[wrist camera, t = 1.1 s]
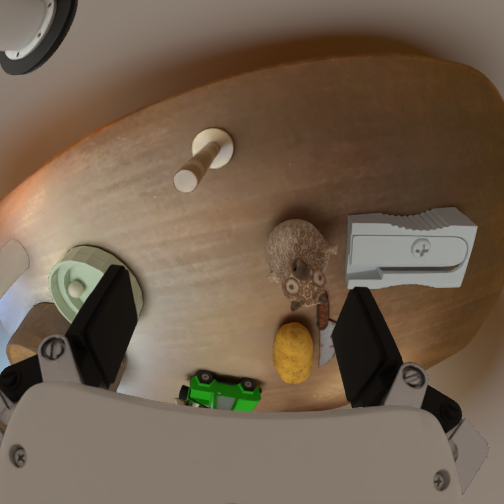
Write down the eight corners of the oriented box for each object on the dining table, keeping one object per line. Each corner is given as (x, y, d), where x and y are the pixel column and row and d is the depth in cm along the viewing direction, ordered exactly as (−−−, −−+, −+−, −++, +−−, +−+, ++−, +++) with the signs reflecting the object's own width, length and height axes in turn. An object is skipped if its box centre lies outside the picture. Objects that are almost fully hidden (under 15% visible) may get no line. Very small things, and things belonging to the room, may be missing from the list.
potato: (273, 363, 52) (275, 391, 46) (268, 313, 45) (270, 345, 39) (308, 359, 52) (313, 387, 45) (311, 309, 44) (318, 340, 38)
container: (137, 343, 49) (113, 405, 36) (116, 388, 62) (100, 432, 49) (30, 276, 42) (-9, 323, 29) (35, 339, 55) (12, 377, 42)
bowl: (53, 283, 42) (40, 298, 38) (80, 224, 36) (64, 239, 32) (119, 334, 48) (111, 352, 44) (162, 290, 42) (153, 311, 38)
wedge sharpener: (442, 263, 40) (462, 286, 34) (343, 279, 41) (356, 309, 35) (454, 207, 34) (480, 226, 28) (346, 215, 35) (364, 239, 29)
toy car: (252, 395, 59) (252, 431, 51) (181, 383, 57) (174, 419, 48) (262, 378, 55) (263, 418, 46) (184, 364, 53) (176, 404, 44)
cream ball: (71, 283, 41) (63, 293, 39) (75, 274, 40) (67, 284, 38) (83, 293, 42) (76, 304, 40) (88, 285, 41) (80, 295, 39)
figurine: (315, 193, 34) (352, 253, 21) (334, 252, 39) (367, 326, 26) (250, 217, 36) (249, 290, 23) (276, 273, 40) (286, 353, 27)
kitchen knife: (339, 364, 52) (317, 370, 52) (337, 358, 53) (315, 364, 53) (348, 291, 41) (319, 299, 40) (344, 285, 42) (315, 292, 42)
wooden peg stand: (185, 148, 31) (139, 184, 18) (212, 119, 29) (182, 131, 16) (214, 175, 33) (189, 227, 20) (242, 147, 31) (235, 180, 18)
